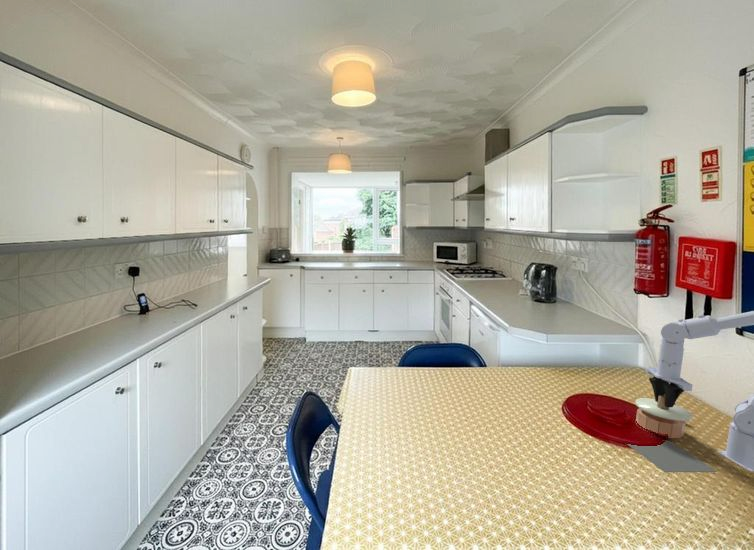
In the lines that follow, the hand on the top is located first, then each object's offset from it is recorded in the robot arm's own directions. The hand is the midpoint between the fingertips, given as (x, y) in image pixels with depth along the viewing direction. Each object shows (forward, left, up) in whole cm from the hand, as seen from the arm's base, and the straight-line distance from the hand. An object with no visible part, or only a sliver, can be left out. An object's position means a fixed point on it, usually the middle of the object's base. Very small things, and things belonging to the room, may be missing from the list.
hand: (663, 404), depth 119 cm
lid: (0, 0, -2) cm, 2 cm away
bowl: (+2, -2, -9) cm, 10 cm away
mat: (-13, +9, -9) cm, 18 cm away
